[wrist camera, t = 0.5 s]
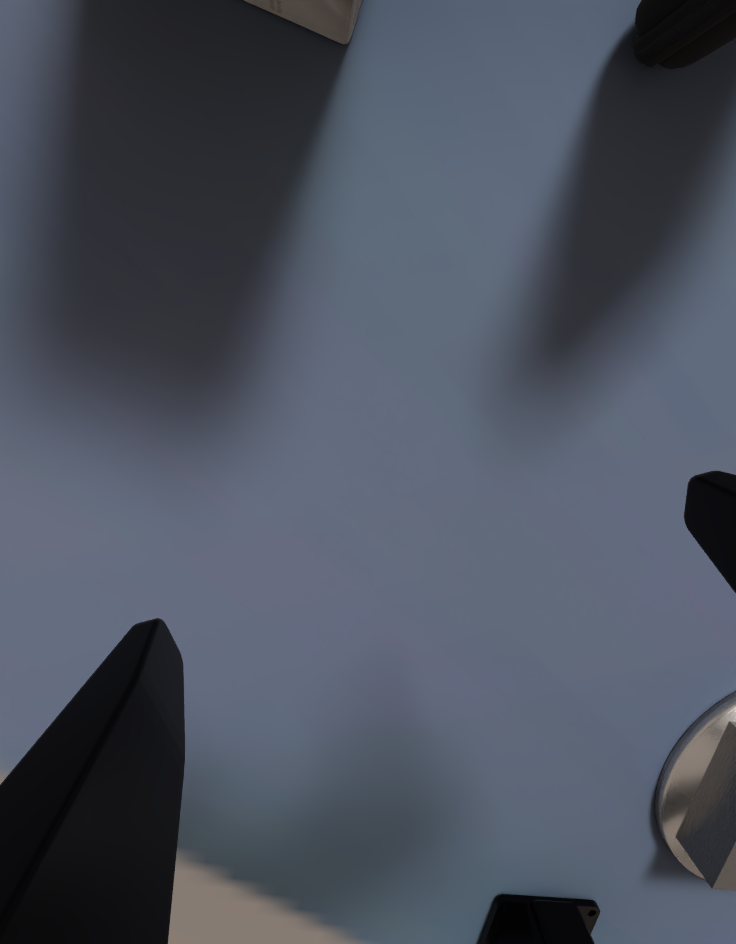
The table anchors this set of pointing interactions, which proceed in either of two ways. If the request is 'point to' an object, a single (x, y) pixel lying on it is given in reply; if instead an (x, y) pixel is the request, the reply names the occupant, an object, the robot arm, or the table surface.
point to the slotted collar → (702, 797)
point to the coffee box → (317, 15)
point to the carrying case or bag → (682, 30)
